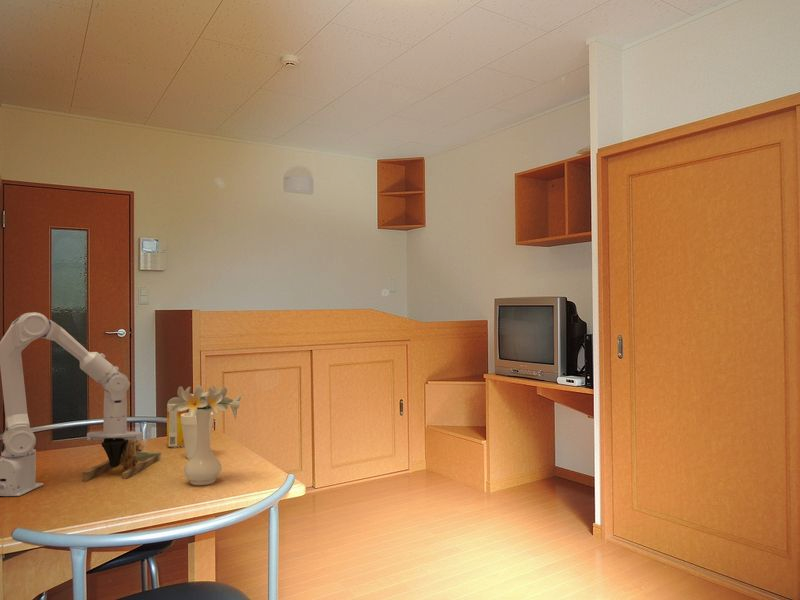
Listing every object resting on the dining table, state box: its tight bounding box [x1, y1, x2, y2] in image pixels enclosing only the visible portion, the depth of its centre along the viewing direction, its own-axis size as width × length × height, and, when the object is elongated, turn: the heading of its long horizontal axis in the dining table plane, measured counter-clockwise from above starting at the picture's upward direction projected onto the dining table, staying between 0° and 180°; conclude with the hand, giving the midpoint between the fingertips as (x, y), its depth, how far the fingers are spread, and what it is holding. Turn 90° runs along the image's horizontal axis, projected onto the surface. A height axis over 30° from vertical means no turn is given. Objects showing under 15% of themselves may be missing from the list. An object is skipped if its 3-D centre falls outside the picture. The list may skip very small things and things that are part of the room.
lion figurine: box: [121, 440, 145, 472], centre depth 168 cm, size 15×5×9 cm, turn 33°
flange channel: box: [81, 450, 162, 482], centre depth 165 cm, size 22×11×2 cm, turn 178°
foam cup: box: [181, 411, 215, 459], centre depth 179 cm, size 10×9×13 cm
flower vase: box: [167, 384, 244, 486], centre depth 153 cm, size 13×18×25 cm
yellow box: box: [166, 403, 188, 448], centre depth 193 cm, size 6×6×15 cm
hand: (114, 466), depth 159 cm, fingers closed
